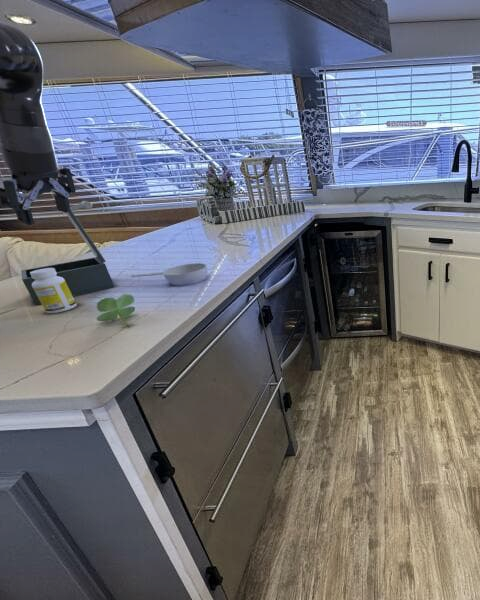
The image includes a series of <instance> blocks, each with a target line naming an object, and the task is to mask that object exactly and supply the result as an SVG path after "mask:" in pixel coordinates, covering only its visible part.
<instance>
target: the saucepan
mask: <svg viewBox="0 0 480 600" xmlns="http://www.w3.org/2000/svg"><path fill="white" fill-rule="evenodd" d="M157 275H158V276H161V275H163V276H164V278H165V280H166V281H167V282H168V283H170V284H171V285H173V286H187V285H192V284H193V285H194V284H196V283H200V282H202V281H204V280H205V279H206V277H207V275H208V266H207V264H205V263H201V262H200V263H187V264H180V265H177V266H173V267H170V268H167V269H165V270H164V271H155V272H144V273H134V274H132V275H131V277H132V278H137V277H147V276H150V277H151V276H157Z"/></svg>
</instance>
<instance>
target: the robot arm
mask: <svg viewBox="0 0 480 600" xmlns="http://www.w3.org/2000/svg"><path fill="white" fill-rule="evenodd" d="M43 86H44V64H43V60H42V56H41V54H40V51H39V49H38V47H37V46H36V44H35V42H34V41H33V40H32V39H31V38H30V37H29V36H28V34H26V33H25V31H22V30H21V29H20V28H18V27H17V26H14V25H12V24H9V23H5V22H0V151H1V155H2V158H3V161H4V164H5V165H6V167H7V168H8V169H9V170H10V177H0V206H2V207H6V208H8V209H11V210H14V212H15V215H16V217H17V220H18V221H19V222H20V223H22V224H24V225H27V226H32V225H35V219H34V217H33V213H32V209H31V208H30V207H31V204H32V202H34V201H36V199H37V197H38V196H40V195H43V194H44V193H51V192H52V193H53V194H54V195H53V197H54V203H55V206H56V210H57V211H59V212H62V213H65V214H66V213H67V212H69V211H70V210H69V209H70V206H71V204H70V201H69V197H70V194H74V193H76V190H77V189H76V186H75V183H74V178H73V175H72V171H71V169H70V168H68V167H65V166H62V165H59V163H58V160H57V155H56V151H55V145H54V142H53V138H52V134H51V132H50V130H49V129H50V128H49V126H48V123H47V118H46V115H45V110H44V106H43V103H42V96H43V88H44V87H43ZM23 192H26V193H27V194H26V193H23ZM21 201H22V202H21Z"/></svg>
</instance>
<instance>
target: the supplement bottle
mask: <svg viewBox="0 0 480 600" xmlns="http://www.w3.org/2000/svg"><path fill="white" fill-rule="evenodd" d="M30 274H31V277H32V278H33V279H35V281H34V282H33V283H32V287H33V289H34V291H35V293H36V295H37V296H38V298H39V300H40V302H41V304H40V305H42V307H43V309H44V311H45V313H47V314H57V313H62V312H66V311H69V310H71V309H73V308H75V307H77V301H76V300H75V298H74V296H72V294H71V292H70V290H69V288H68V286H67V284H66V282H65V280H64V278H62V277H59V276H56V274H57V272H56V271H55V269H54V268H45V269H39V270H35V271H32V272H30Z"/></svg>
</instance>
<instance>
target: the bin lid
mask: <svg viewBox="0 0 480 600" xmlns="http://www.w3.org/2000/svg"><path fill="white" fill-rule="evenodd" d="M93 206H94V205H93V203H92V202H90V201H88V200H82V201H81V202H80V203H79V204H75V205H70V209H69V210H70V211H69V212H67V213H65V215H66V217H68V219H69V221H70V222H71V223H72V225H73V227H74V228H75V230H76V231H77V232H78V233H79V235H80V236H81V238H82V240H83V241H84V242H85V244H86V245H87V246H88V248H89V250H90V251H91V252H92V254H93V256H94V257H97V258H98V259H99V260H100V261H101V262H102V263H106V262H107V260H106V259H105V258H104V256H103V255H102V254H101V252H100V251H99V249H98V247H97V246H96V245H95V243H94V241H93V240H92V239H91V237H90V235H88V233H87V231H86V230H85V228H84V227H83V226H82V224H81V222H80V221H79V220H78V218H77V216H76V215H75V214H74V213H73V211H75V210H80V209H84V208H85V209H88V210H90V209H92V208H93Z"/></svg>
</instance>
